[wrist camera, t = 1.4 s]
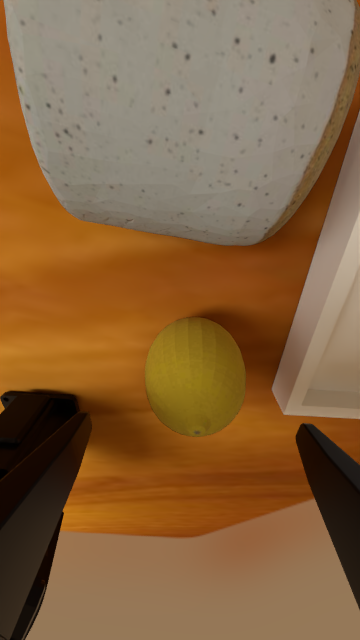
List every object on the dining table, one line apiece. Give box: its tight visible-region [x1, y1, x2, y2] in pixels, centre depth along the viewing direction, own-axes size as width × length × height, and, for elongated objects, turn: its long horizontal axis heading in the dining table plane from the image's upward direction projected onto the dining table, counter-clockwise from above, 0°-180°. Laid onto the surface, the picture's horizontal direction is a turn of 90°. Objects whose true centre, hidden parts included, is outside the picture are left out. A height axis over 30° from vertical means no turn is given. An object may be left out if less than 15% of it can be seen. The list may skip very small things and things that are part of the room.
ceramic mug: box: [4, 0, 360, 246], centre depth 7 cm, size 11×8×8 cm
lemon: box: [145, 317, 246, 437], centre depth 12 cm, size 6×6×8 cm
